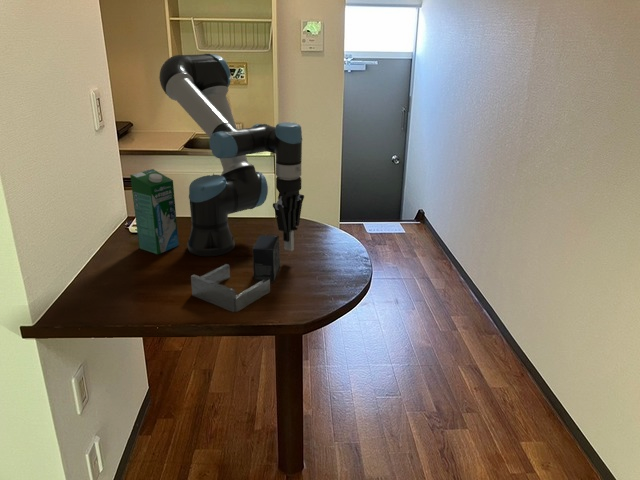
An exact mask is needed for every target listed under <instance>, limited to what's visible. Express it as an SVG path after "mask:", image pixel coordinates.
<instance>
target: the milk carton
mask: <svg viewBox="0 0 640 480" xmlns="http://www.w3.org/2000/svg"><path fill="white" fill-rule="evenodd" d="M129 176H130V184H131V192H132V200H133V208H134V216H135V223H136V225H135V226H136V231H137V241H138V249H140V250H144V251H146V252H149V253H151V254H152V253H153V254H155V255H161V254H162V253H165V252H168V251H169V250H172V249H174V248H176V247H179V246H180V244H179V234H178V232H179V230H178V222H177V221H178V219H177V213H176V210H177V209H176V199H175V190H174V189H175V188H174V180H173V179H172V178H170V177H168V176H166V175H164V174H162V173H160V172H159V171H158V170H155V169H154V168H152V169H147V170H144V171H141V172H136V173H132V174H130V175H129Z"/></svg>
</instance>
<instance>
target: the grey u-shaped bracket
mask: <svg viewBox="0 0 640 480" xmlns="http://www.w3.org/2000/svg"><path fill="white" fill-rule="evenodd" d="M230 273H231V271H230V264H227V263H225V264H224V265H221V266H220V267H217V268H215V269H213V270H211V271H209V272H207V273H205V274H203V275H200V276H199V275H197V274H192V275H191V276H190V283H191V295H192V297H195V298H198V299H200V300H202V301H205V302H207V303H210V304H212V305H214V306H217V307H218V308H219V307H220V308H221V309H224V310H227V311H229V312H232V313H235V312H236V313H238V312H240V311H242V310H243V309H244V308H246V307H248V306H249V305H251V304H253V303H254V302H256V301H258V300H260V299H261V298H262V297H264V296H265V295H268V294H269V293H271V282H270V279H268V278H266V279H264V280H262V281H258V282H256V283H255V284H254V285H251V286H250V287H248V288H246V289H245V290H243V291H241V292H240V293H238V294H237V290H236V289H234V288H231V287H229V286H227V285H223V284H221V283H222V282H224V281H226V280H228V279H229V278H231V274H230Z"/></svg>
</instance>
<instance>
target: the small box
mask: <svg viewBox="0 0 640 480" xmlns="http://www.w3.org/2000/svg"><path fill="white" fill-rule="evenodd" d="M280 259H281V258H280V236H279V235H272V234H271V235H268V234H267V235H265V234H259V235H258V238H257V239H256V242H255V243H254V245H253V247H252V265H253V267H252V268H253V281H254V282H255V281H256V282H260V281H262V280H264V279H266V278H268V279H270V283H273V282H275V281H276V278H277V276H278V273H279V270H280V267H281V262H280Z"/></svg>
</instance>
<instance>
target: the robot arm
mask: <svg viewBox="0 0 640 480" xmlns="http://www.w3.org/2000/svg"><path fill="white" fill-rule="evenodd" d="M158 78H159V84H160V87H161V88H162V90H163V91H164V93H165V94H166V95H167V96H168V98H169V99H171V100H173V101H176V102H177V103H178V104H179V105H180V106H181V107H182V109H183V110H184V111H185V112H186V113H187V114H188V115H189V116H190V117H191V119H192V120H194V122H195V123H196V124H197V125H198V127H200V128H201V130H202V131H203V132H204V133H205V134H206V136H208V138H209V141H208V142H209V149H210V150H211V153H212V155H213V156H214V157H215V158H217V159H219V160H220V164H221V167H222V169H223V170H222V173H221V174H209V175H204V176H200V177H197V178H195V179H194V180H193V181H192V182H190V185H189V186H188V189H189V190H188V200H189V210H190V220H191V228H190V232H189V238H188V240H187V250H188V252H189V253H190V254H192V255H195V256H200V257H216V256H217V257H218V256H223V255H226V254H228V253H230V252H232V251H233V250H234V248H235V239H234V236H233V234H232V231H231V229H230V228H231V227H230V225H229V217H228V216H229V215H230V214H234V213H238V212H243V211H246V210H253V209H255V208H257V207H261V206H262V205H264V204H265V202H266V200H267V198H268V193H269V186H268V181H267V178H266V177H265V175H264V174H263V173H262V172H260V171H257V170H256V168H255V165H254V164H252V163H250V162H249V160H248V159H247V155H248V156H249V155H253V154H259V153H265V152H269V153H272V154H275V176H276V178H275V188H276V190H277V191H278V197H277V202H276V203H275V202H273V203H272V208H273V209H274V212H275V217H276V223H277V228H278V231H281V232H282V233H283V237H282V238H283V239H282V240H283V250H285V251H287V252H293V251H294V250H295V231H297V230H298V228H299V225H300V220H301V214H302V213H301V212H302V208H303V207H302V206H303V201H304V199H305V195H304V194H301V193H300V191H301V190H302V177H301V176H302V160H303V159H302V158H303V156H302V154H303V152H302V151H303V134H302V126H301V125H300V124H299V123H295V122H287V121H286V122H279V123H277V124H276V125H275V126H272V125H269V124H266V123H256V124H254V125H253V126H252V127H247V128H239V129H238V128H237V125H236V122H235V118H234V115H233V114H232V110H231V107H230V104H229V101H228V98H227V94H228V92H229V86H230V85H231V81H232V77H231V70H230V66H229V65H228V63H227V61H226V60H225V58H223V57H222V56H220V55H219V54H215V53H214V54H211V53H202V54H175V55H173V56H171V57H169V58H167V59H166V60H165V61H164V63H163V64H162V65H161V67H160V71H159V77H158Z"/></svg>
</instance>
